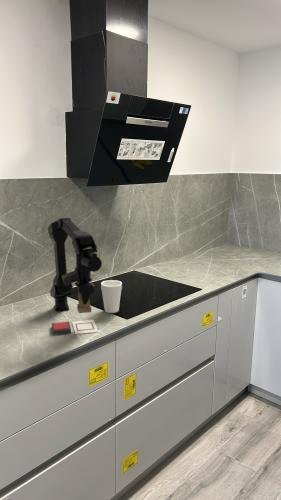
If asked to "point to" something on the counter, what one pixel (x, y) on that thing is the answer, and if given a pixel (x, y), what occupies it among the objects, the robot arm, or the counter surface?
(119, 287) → the foam cup
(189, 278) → the counter surface
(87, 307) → the stamp
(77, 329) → the paper sheet
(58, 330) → the ink pad
